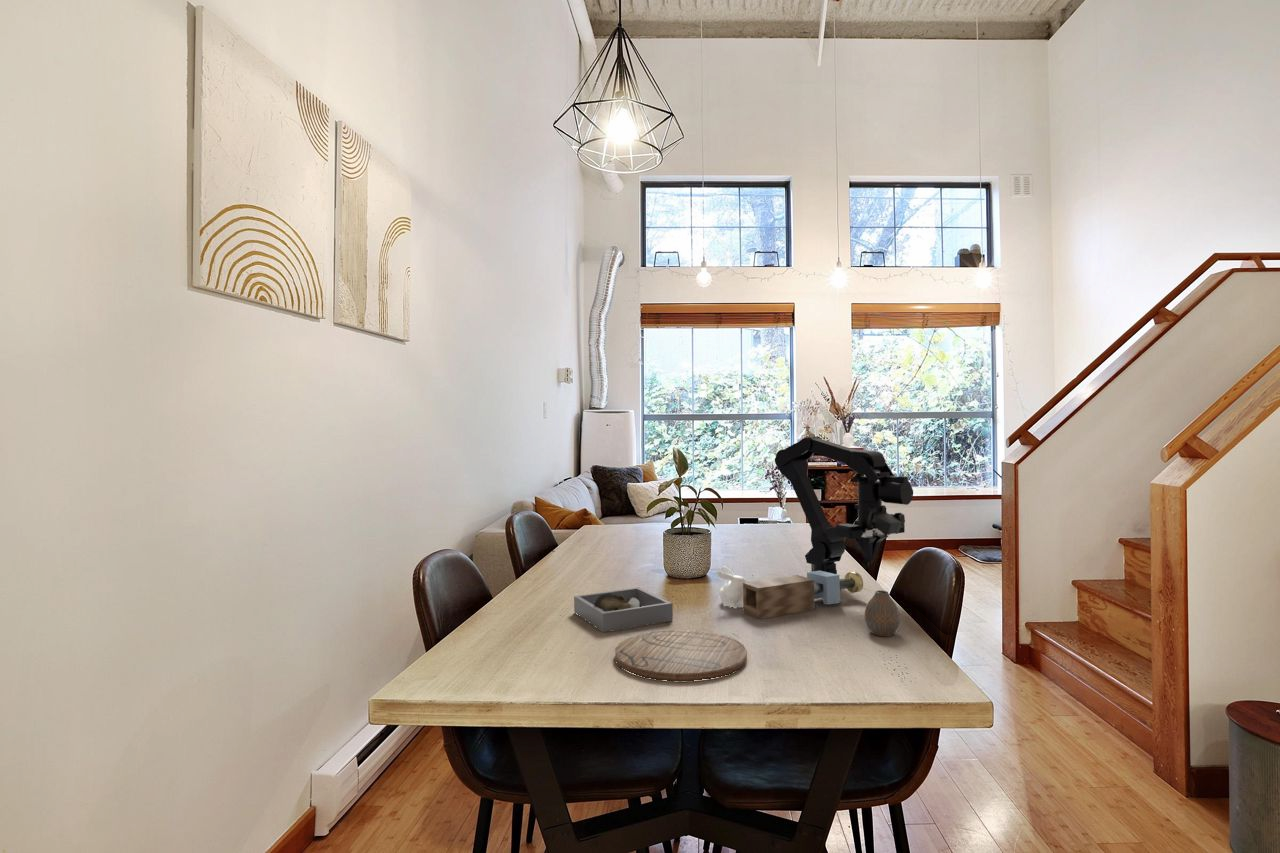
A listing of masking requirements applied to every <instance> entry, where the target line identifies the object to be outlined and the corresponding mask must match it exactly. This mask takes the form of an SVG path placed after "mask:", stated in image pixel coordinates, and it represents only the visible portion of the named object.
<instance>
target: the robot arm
mask: <svg viewBox="0 0 1280 853" xmlns="http://www.w3.org/2000/svg"><path fill="white" fill-rule="evenodd" d="M775 454H776V455H775V458H774V463H775V465H776V466H775V467H776V468H777V469H778V470H779V472H780V474H781V475H782V476H783V477H784V478H785V479H787V480H788V481H789V482H790V484H791V486H792V488H793V491H794V493H795V496H796V497H797V500H798V501H799V505H800V507H801V509H802V511H803V513H804V516H805V518H806V520H807V522H808V525H809V527H810V529H811V532H810V533H811V534H810V542H811V546H812V547H811V548H810V549H809V551H807V553H806V554H805V555H804V556H805V561H806V563H807V564H809V565H810V568H811V570H810V572H813V571H824V572H828V573H833V574H837V575H838V570H837V564H836V562H840V561H841V559H842V556H843V554H845V550H846V548H847V545H846V540H847V539H851V540H852V539H853V540H854V539H855V540H856V542H857V545H858V546H859V548H860V550H861V552H862V554H863V555H864V558H865V560H866V562H867V563H868V564H872V563H874V562H875V561H874V560H875V558H876V555H877V552H878V550H879V546H880V544H881V542H882V541H884V540H885V539H886V538H888V537H889V536H890V535H891V534H892V535H893V534H894V535H895V534H896V535H898V534H902V533H903V534H904V533H905V531H906V530H905V529H906V528H905V526H906V525H905V523H906V519H905V518H906V517H905V514H904V513H902V512H895V513H894V514H893V513H888V512H887V506H886V505H884V504H883V503H886V504H895V505H905V506H907V505H909V504H910V503H911V502H912V500H913V497H914V489H913V487H912V484H911V483H910V482H909V476H904V475H903V476H895V474H894V472H892V470H891V468H890V467H889V464H888V463H887V462H886V458H885V457H884V454H883V453H882V452H880V451H876V450H869V449H856V448H851V447H848V446H844V445H841V444H837V443H835V442H831V441H828V440H825V439H821V438H819V437H818V436H806V437H803V438H802V439H800V440H799V441H797V442H796V443H794V444H792V445H789V446H787V447H785V448H783V449H779V450H778V451H777V452H776V453H775ZM814 454H816V455H818V456H821V457H824V458H827V459H831V460H833V461H836V462H839V463H842V464H844V465H846V466H847V467H848V468H849V469H850V470H852V471H854V472H856V473H855V475H853V477H851V478H850V480H849V482H850V483H854V484H855V483H857V504H856V503H855V504H854V506H853V508H854V509H856V510H857V519H855V520H854V524H852V523H848V522H847V523H840V524H836V526H833V525H832V524H831V523H830V522H829V520H828V518H827V515H826V514H825V511H824V509H823V507H822V505H821V502H820V501H819V499H818V496H817V494H816V492H815V490H814V487H813V485H812V483H811V480H810V478H809V476H808V468H809V465H808V462H807V461H808V460H809V459H811V458H812V457H813V456H814ZM882 502H883V503H882Z"/></svg>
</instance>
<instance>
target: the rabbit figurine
mask: <svg viewBox="0 0 1280 853" xmlns="http://www.w3.org/2000/svg"><path fill="white" fill-rule="evenodd" d="M723 571H724V572H723ZM734 573H735V572H734V570H731V569H730V568H729V567H727V566H726V565H723V566H722V568H721V570H717V572H716V574H717V576H718V577H719V578H721V579H723V580H726V582H725V584H723V586H722V587H721V588H720V589H719V596H720V598H719V599H720V600H721V603H722V605H723V607H725V606H730V607H729V608H731V607H733V608H732V609H738V608H743V583H745V582H748V581H747V580H746V578H745V577H744V576H742V575H736V574H734ZM737 607H738V608H737Z"/></svg>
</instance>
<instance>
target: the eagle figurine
mask: <svg viewBox="0 0 1280 853" xmlns="http://www.w3.org/2000/svg"><path fill="white" fill-rule="evenodd" d="M639 603H640V602H639V600H637V599H636V598H631V599H630V600H629V599H628V598H627V597H626V600H625V599H624V597H623V595H621V596H618V595H613V594H610V593H606V594H603V595H601V596H598V598H597V599H596V600H595V603H594V605H595V606H596V607H598V608H600V609H606V610H607V611H609V610H610V611H615V610H622V609H628V608H635V607H640V606H639Z"/></svg>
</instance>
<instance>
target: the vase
mask: <svg viewBox="0 0 1280 853" xmlns="http://www.w3.org/2000/svg"><path fill="white" fill-rule="evenodd" d="M864 610H865V611H864V620H865V621H864V622H865V626H866V627H867V629H868V630H869V631H870V633H872V634H873V635H875V636H878V637H891V636H893V635H894V634H895V633H896V632H897V630H898V629H899V626H900V621H901V614H900V611H899V607H898V606H897V604H896V603H895V601H894V599H892V597H891V596H890V593H889V592H888V591H886V590H883V589H882V590H876V591H875V592H874V595H873V596H872V598H870V600H869V601H868V602H867V604H866V607H865V609H864Z"/></svg>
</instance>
